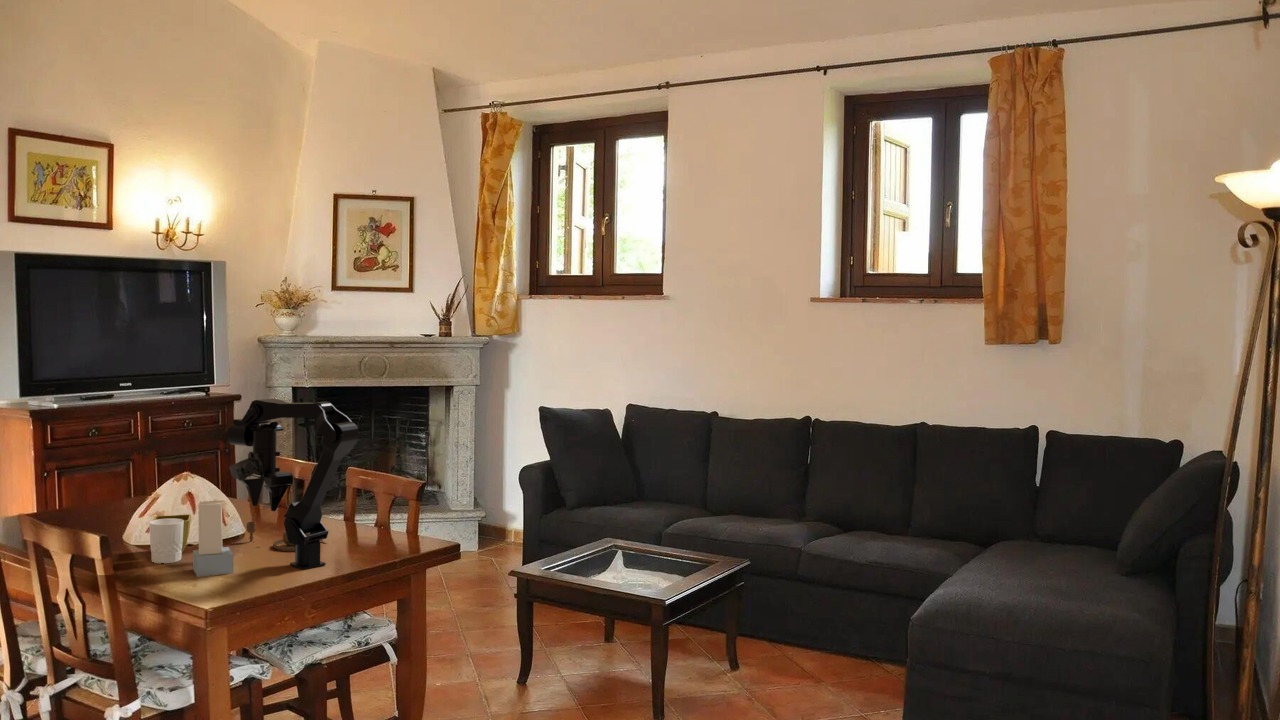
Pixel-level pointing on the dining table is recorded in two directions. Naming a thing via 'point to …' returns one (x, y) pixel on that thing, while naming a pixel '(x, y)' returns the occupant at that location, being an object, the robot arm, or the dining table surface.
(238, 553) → the dining table surface
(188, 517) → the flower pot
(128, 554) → the dining table surface
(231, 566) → the base block
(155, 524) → the white cup
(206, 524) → the pillar
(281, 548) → the place setting
